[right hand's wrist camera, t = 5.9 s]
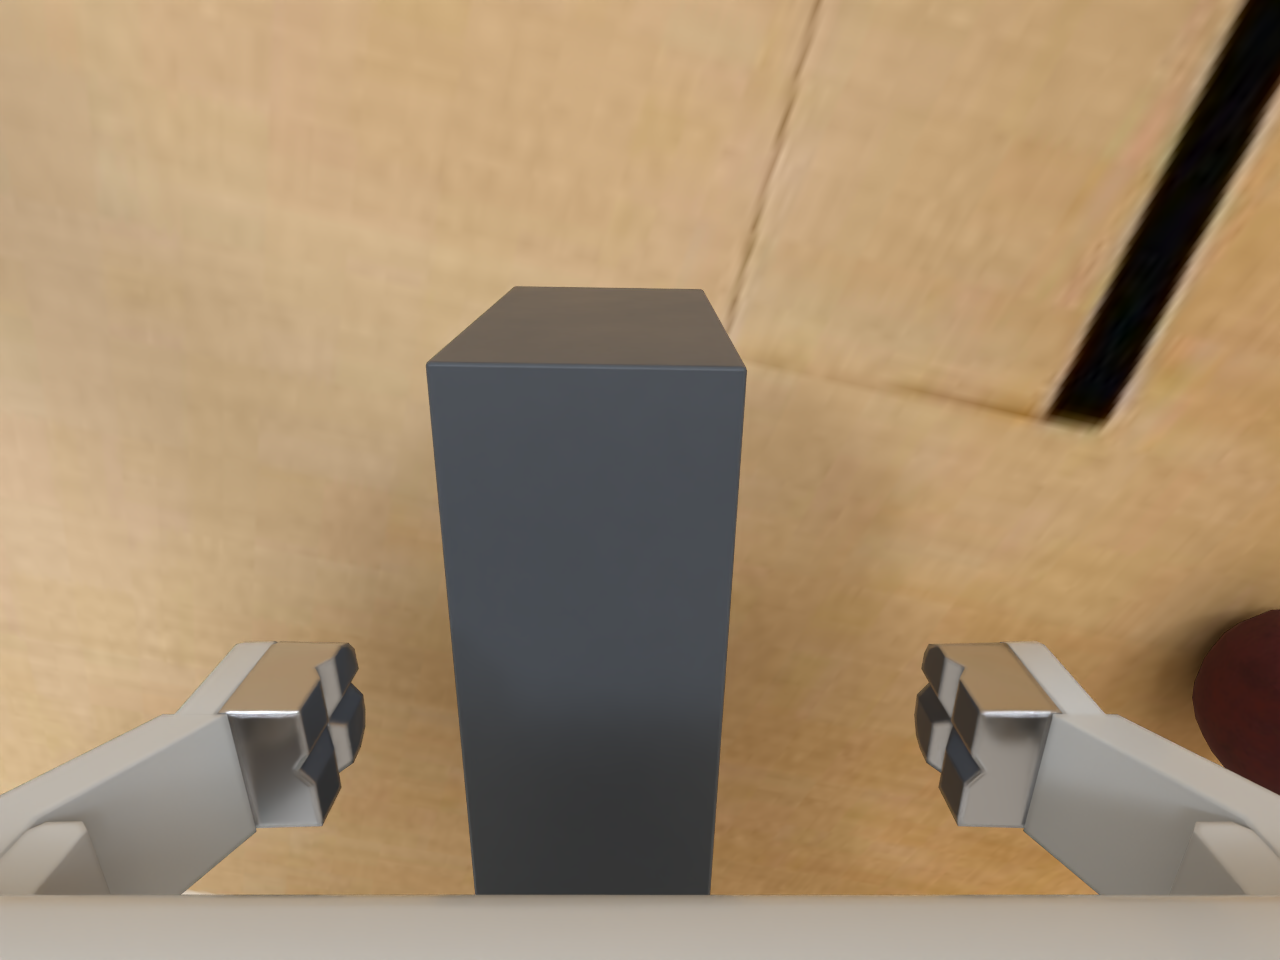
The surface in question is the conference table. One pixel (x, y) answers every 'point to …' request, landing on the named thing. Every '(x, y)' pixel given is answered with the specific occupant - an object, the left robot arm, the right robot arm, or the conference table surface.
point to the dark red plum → (1243, 699)
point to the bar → (590, 582)
